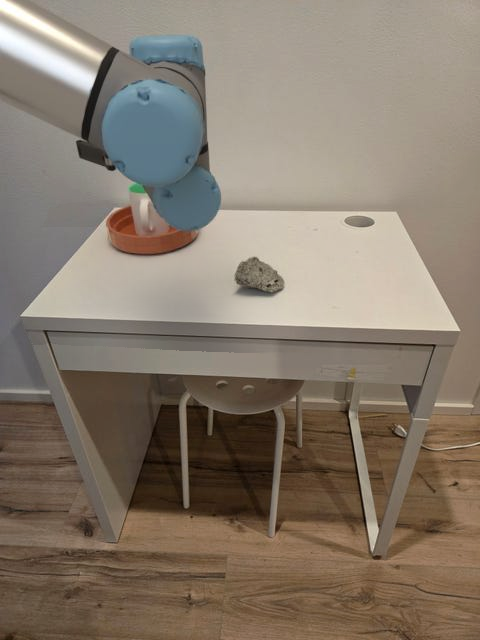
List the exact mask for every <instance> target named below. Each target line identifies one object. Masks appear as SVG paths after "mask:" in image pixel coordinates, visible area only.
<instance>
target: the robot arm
mask: <svg viewBox="0 0 480 640" xmlns="http://www.w3.org/2000/svg"><path fill="white" fill-rule="evenodd" d="M128 48H129V54H128V53H127V52H124V51H122V50H120V49H118V48H117V47H115V46H114V45H112V44H111V43H109V42H107V41H105V40H103V39H102V38H100V37H98V36H96V35H94V34H92V33H91V32H89V31H87V30H85V29H84V28H82V27H80V26H78V25H76V24H75V23H73V22H71V21H69V20H67V19H65V18H64V17H61V16H60V15H58V14H56V13H54V12H52V11H51V10H50V9H47V8H45V7H43V6H42V5H40V4H39V3H37V2H34V1H33V0H0V101H1V102H2V103H5V104H7V105H9V106H11V107H13V108H15V109H17V110H20V111H21V112H23V113H26V114H28V115H30V116H33V117H35V118H37V119H38V120H40V121H43V122H45V123H47V124H50V125H52V126H54V127H55V128H58V129H60V130H62V131H65V132H66V133H68V134H71V135H73V136H74V137H77V138H79V139H78V140H76V141H75V144H76V149H77V150H76V151H77V153H78V157H79V159H82V160H84V161H87V162H89V163H92V164H95V165H98V166H101V167H104V168H105V169H106V170H107V171H109V172H114V171H116V170H118V171H119V173H120V174H122V175H123V176H124V177H125V178H126V179H128V180H130V181H131V182H133V183H134V184H135V183H138V184H141V185H142V186H143V188H144V190H145V191H146V193H147V194H148V196H149V198H150V200H151V201H152V203H153V206H154V209H155V210H156V212H157V213H158V214H159V216H160V217H162V218H163V219H164V220H165V221H166V222H167V223H168V224H169V225H170V226H172V227H173V228H175V229H178V230H181V231H195V230H198V231H199V230H200V229H203V228H206V226H208V225H209V224H211V222H212V221H213V220H214V219H215V218H216V216H217V215H218V213H219V210H220V208H221V204H222V192H221V189H220V186H219V184H218V182H217V181H216V177H215V176H214V175H213V174H212V172H211V167H210V165H211V164H210V150H209V149H210V148H209V141H208V121H207V120H208V118H207V117H208V116H207V93H206V67H205V64H204V63H205V62H204V53H203V52H204V51H203V45H202V43H201V41H200V39H199V38H197V36H194V35H190V34H154V35H152V34H151V35H150V34H149V35H140V36H137V37H134V38H133V39H132V40H131V41H130V43H129V47H128Z"/></svg>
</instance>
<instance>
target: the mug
mask: <svg viewBox="0 0 480 640" xmlns="http://www.w3.org/2000/svg"><path fill="white" fill-rule="evenodd" d="M127 190H128V196H129V203H130V205H131V208H132V214H133V220H134V225H135V231H136V234H138V235H139V236H152V235H161V234H165V233H167V232H168V231H169V229H170V228H169V224H168V223H167V222H166V221H165V220H164V219H163V218H162V217H160V216H159V214H158V213H157V212H156V210H155V209H154V206H153V203H152V201H151V200H150V198H149V196H148V194H147V193H146V191H145V190H144V188H143V186H142V185H141V184H138V183H135V182H134V183H133V184H131V185H128V187H127Z"/></svg>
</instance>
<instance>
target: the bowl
mask: <svg viewBox="0 0 480 640" xmlns="http://www.w3.org/2000/svg"><path fill="white" fill-rule="evenodd" d="M105 222H106V223H105V227H106V232H107V235H108V241H109V242H110V244H111V246H113V247H115V248H116V249H117V250H120V251H123V252H126V253H130V254H138V255H155V254H162V253H168V252H172V251H175V250H178V249H179V248H182V247H185V246H186V245H188V244H190V243H191V242H193V241H194V240H195V238H196V237H197V235H198V233H199V229H198V230H195V231H181V230H178V229H175V228H173V227H172V226H170V225H169V228H170V229H169V231H168V232H167V233H165V234H161V235H152V236H139V235H138V234H136V231H135V225H134V220H133V214H132V208H131V204H130V205H126V206H124V207H121V208H119V209H117V210H115V211H114V212H112V213H111V214H110V215H108V217H107V218H106V221H105Z"/></svg>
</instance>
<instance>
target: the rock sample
mask: <svg viewBox="0 0 480 640" xmlns="http://www.w3.org/2000/svg"><path fill="white" fill-rule="evenodd" d="M233 279H234V280H233V281H234V282H235V283H236V285H239V286H243V287H245V288H246V289H251V288H254V289H255V288H256V289H259V290H260V291H263V292H268V293H275V292H276V293H277V292H278V291H281V290H282V289H283V287H284V284H285V281H284V278H283V277H282V276H281V275H280V274H279V273H278V270H276V269H274V268H273V267H272V266H271V265H270V264H268V263H265V262H263V261H261V260H260V259H259V257H258V256H252V257H249V258H247V259H246V260H243V261H240V262H239V264H238V266H237V268H236V271H235V273H234V275H233Z"/></svg>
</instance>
